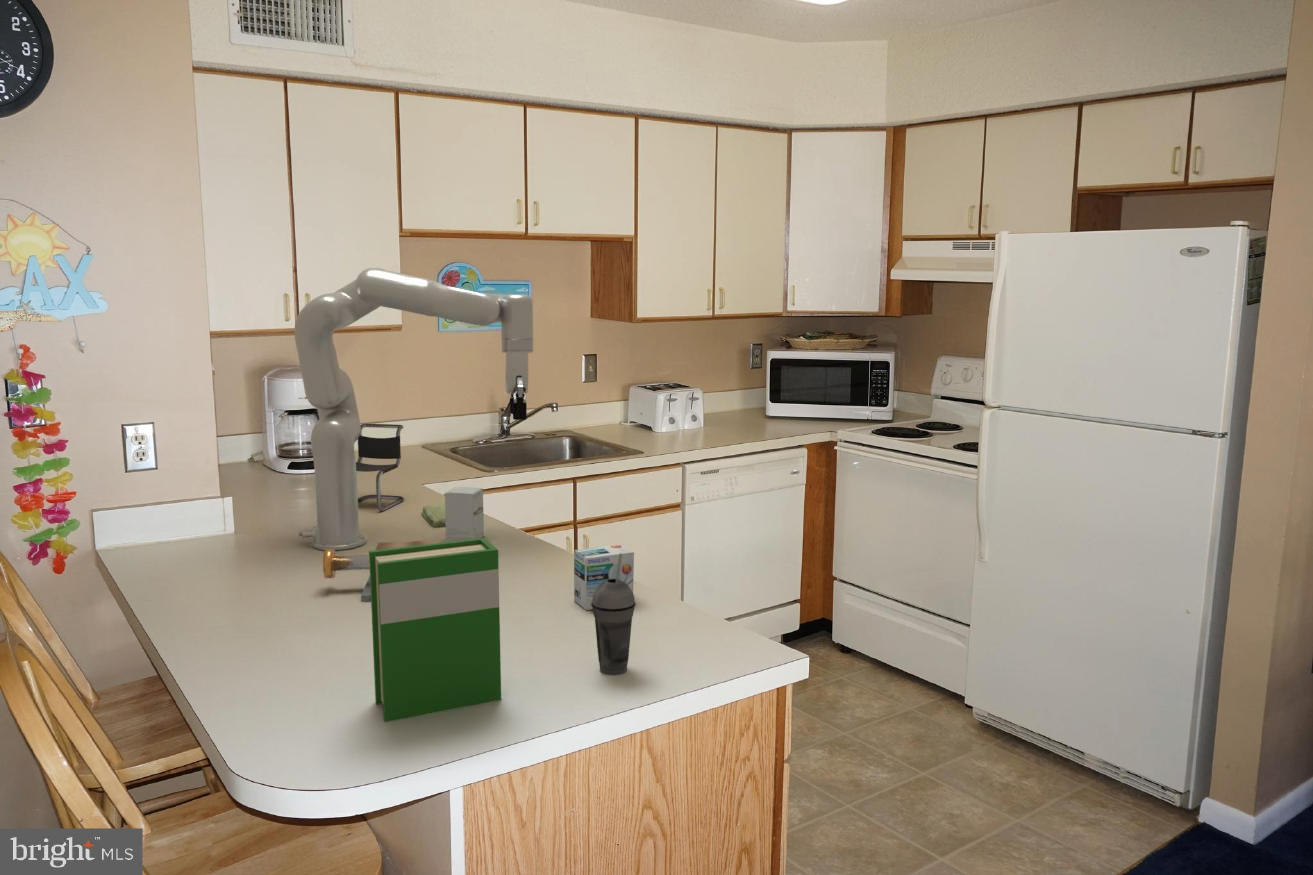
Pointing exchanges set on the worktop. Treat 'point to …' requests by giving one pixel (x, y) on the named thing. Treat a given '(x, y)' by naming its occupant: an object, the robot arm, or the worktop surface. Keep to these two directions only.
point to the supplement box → (464, 514)
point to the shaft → (343, 563)
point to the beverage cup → (613, 623)
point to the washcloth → (435, 515)
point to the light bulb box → (600, 570)
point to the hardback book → (435, 627)
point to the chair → (379, 450)
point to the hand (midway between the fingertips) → (518, 416)
